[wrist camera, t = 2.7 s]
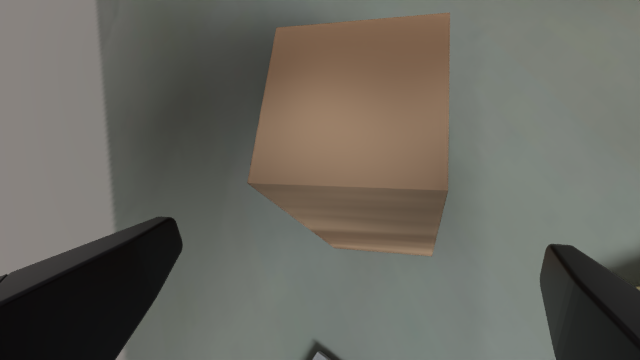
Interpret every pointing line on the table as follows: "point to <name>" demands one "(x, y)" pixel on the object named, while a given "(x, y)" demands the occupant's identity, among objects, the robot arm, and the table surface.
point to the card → (321, 356)
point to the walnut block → (359, 131)
